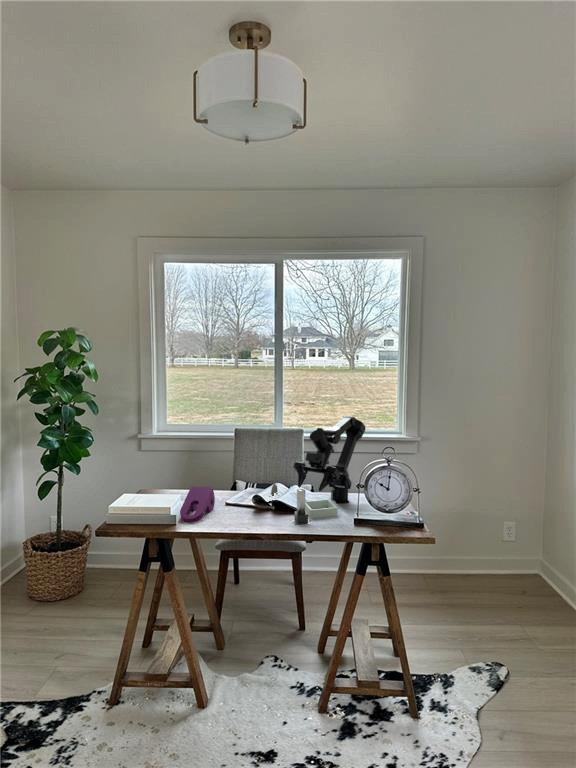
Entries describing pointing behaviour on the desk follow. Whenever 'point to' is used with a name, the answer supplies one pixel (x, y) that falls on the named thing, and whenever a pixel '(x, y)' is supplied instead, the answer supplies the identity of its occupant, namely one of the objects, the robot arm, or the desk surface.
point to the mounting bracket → (197, 503)
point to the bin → (323, 512)
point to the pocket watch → (274, 488)
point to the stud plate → (300, 523)
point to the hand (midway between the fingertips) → (308, 489)
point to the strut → (301, 508)
